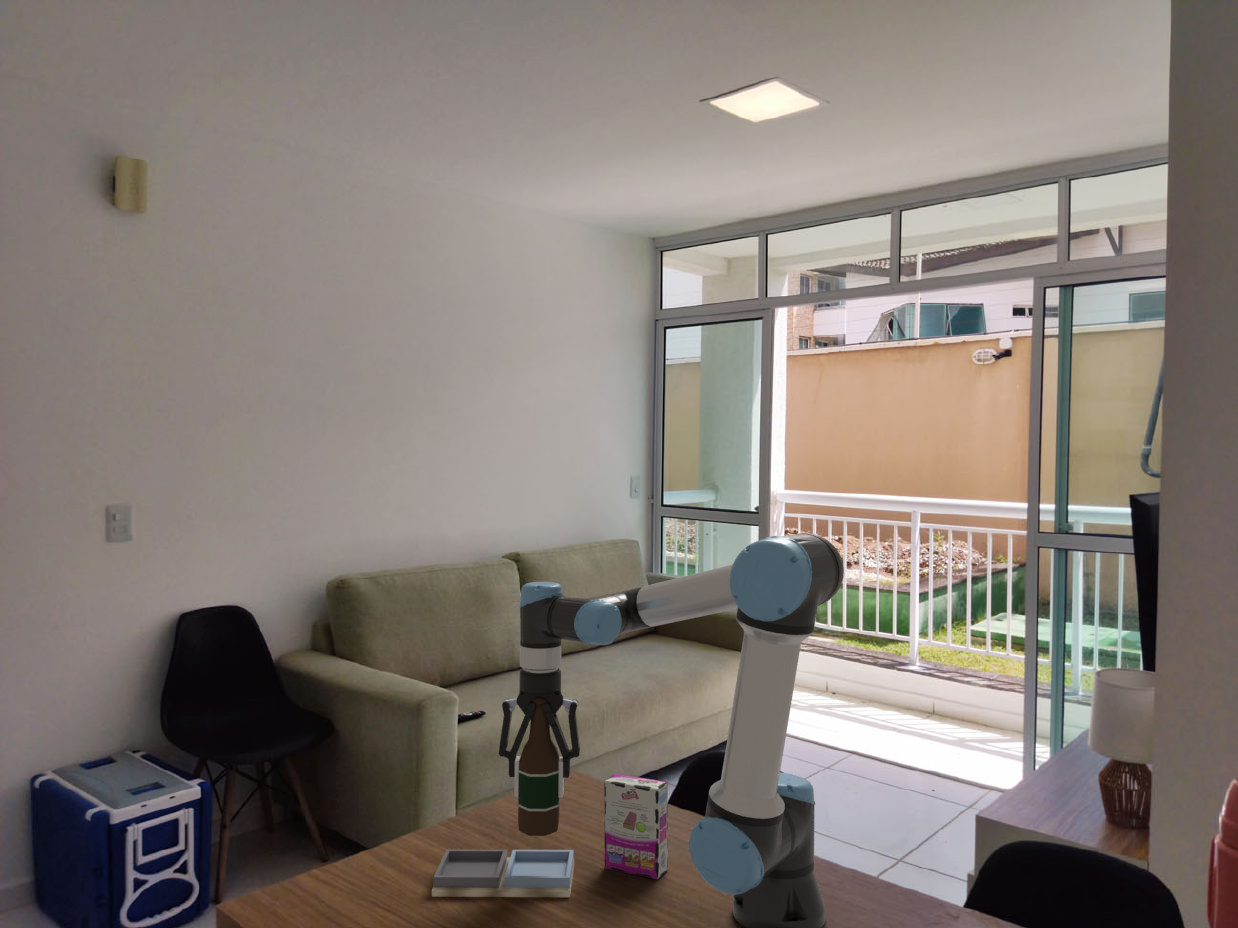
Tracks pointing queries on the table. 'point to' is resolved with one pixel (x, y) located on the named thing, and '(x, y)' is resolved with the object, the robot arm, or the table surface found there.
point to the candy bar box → (636, 825)
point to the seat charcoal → (470, 869)
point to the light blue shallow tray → (539, 869)
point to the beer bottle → (539, 778)
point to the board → (503, 890)
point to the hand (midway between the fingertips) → (539, 794)
